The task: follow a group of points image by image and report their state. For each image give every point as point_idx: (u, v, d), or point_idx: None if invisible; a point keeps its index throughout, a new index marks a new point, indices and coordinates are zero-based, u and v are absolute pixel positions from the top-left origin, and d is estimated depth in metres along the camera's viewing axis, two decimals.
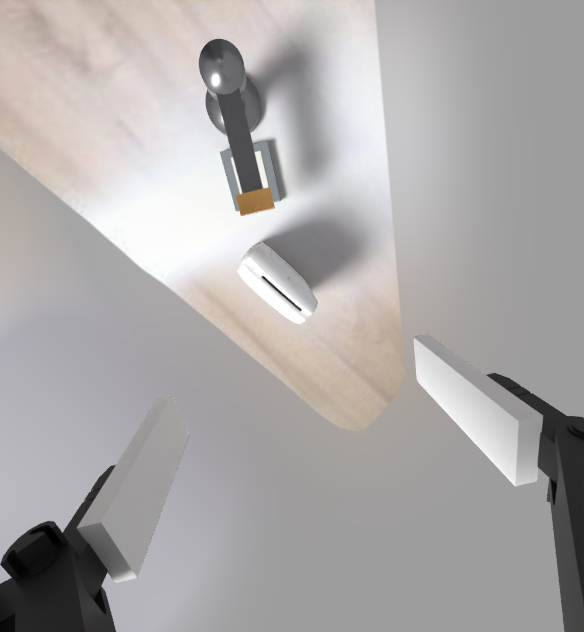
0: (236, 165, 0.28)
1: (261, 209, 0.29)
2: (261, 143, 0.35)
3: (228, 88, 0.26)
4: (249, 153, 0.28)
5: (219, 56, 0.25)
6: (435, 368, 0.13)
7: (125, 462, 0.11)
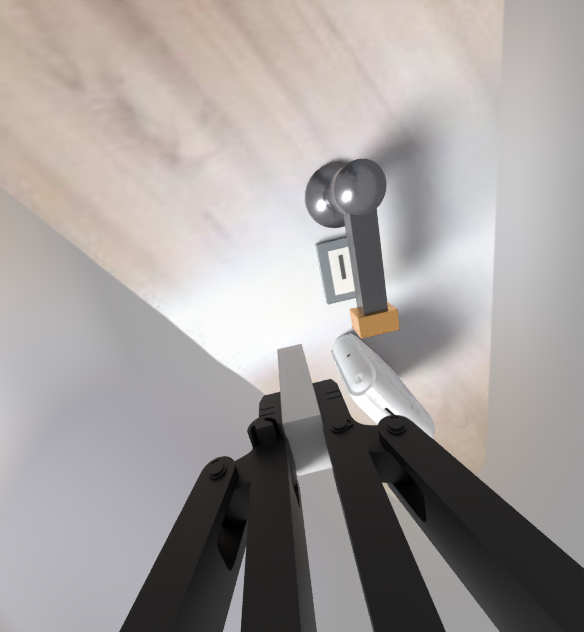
0: (361, 287, 0.24)
1: (384, 331, 0.26)
2: None
3: (365, 210, 0.22)
4: (378, 274, 0.24)
5: (359, 177, 0.21)
6: None
7: (287, 387, 0.13)
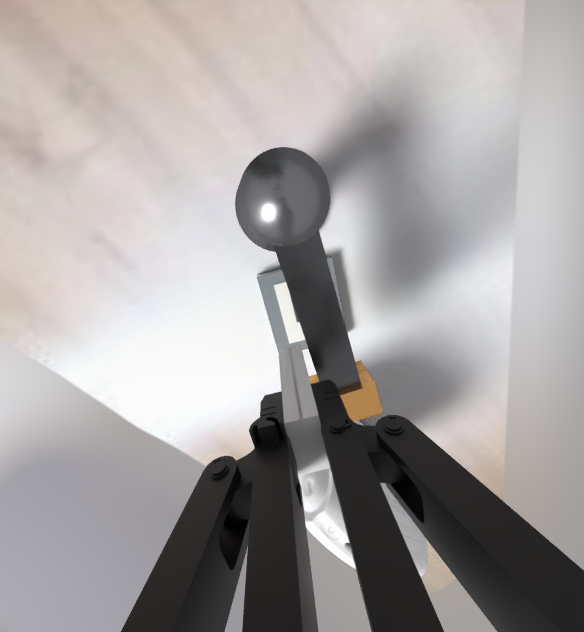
0: (313, 355, 0.15)
1: (359, 417, 0.16)
2: None
3: (298, 235, 0.13)
4: (337, 334, 0.15)
5: (278, 181, 0.12)
6: None
7: (289, 386, 0.13)
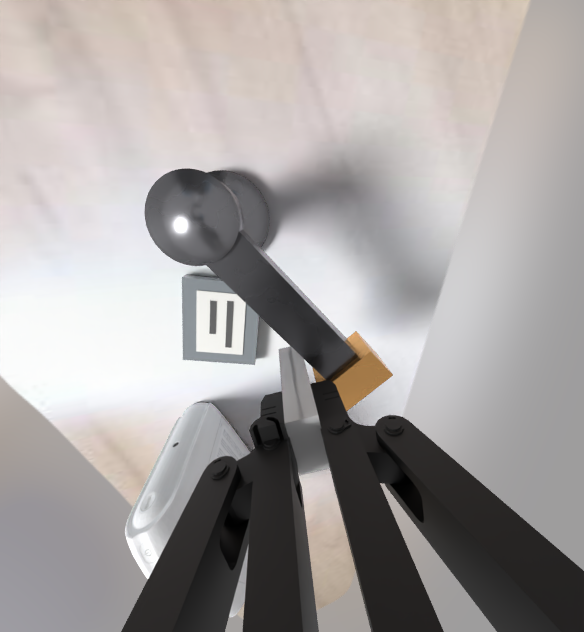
0: (297, 348, 0.15)
1: (371, 389, 0.15)
2: None
3: (222, 246, 0.13)
4: (309, 319, 0.14)
5: (179, 206, 0.12)
6: None
7: (289, 386, 0.13)
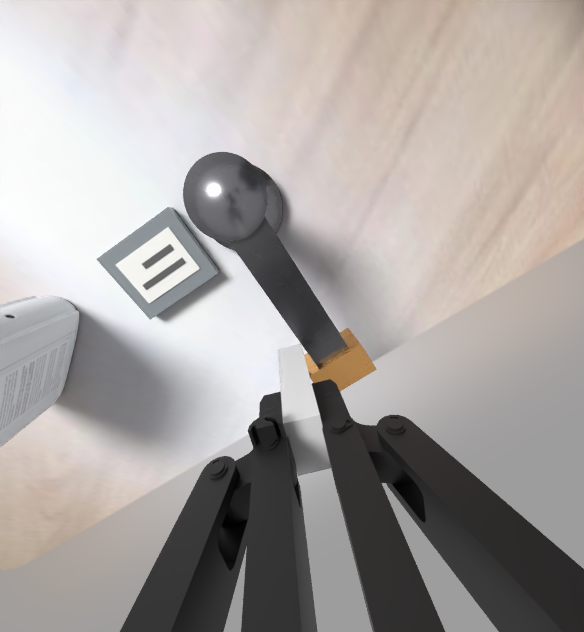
0: (296, 332, 0.16)
1: (355, 379, 0.17)
2: (210, 266, 0.23)
3: (248, 227, 0.14)
4: (312, 307, 0.16)
5: (216, 184, 0.13)
6: None
7: (288, 387, 0.13)
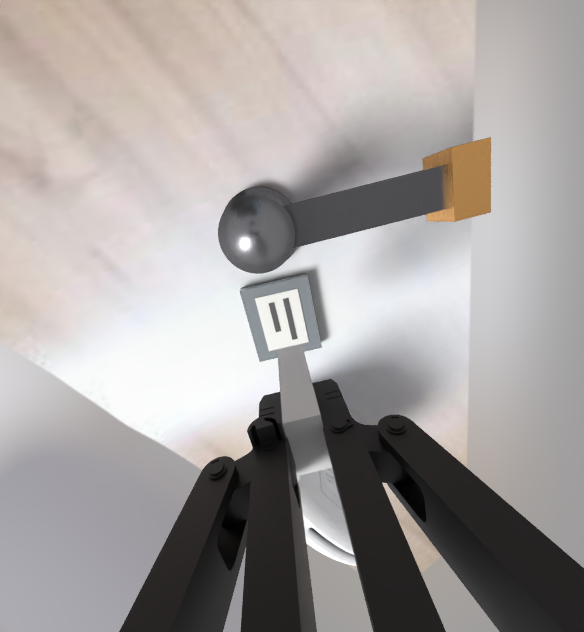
0: (402, 217, 0.15)
1: (488, 168, 0.14)
2: (299, 279, 0.24)
3: (286, 225, 0.15)
4: (385, 190, 0.15)
5: (243, 239, 0.15)
6: None
7: (287, 387, 0.13)
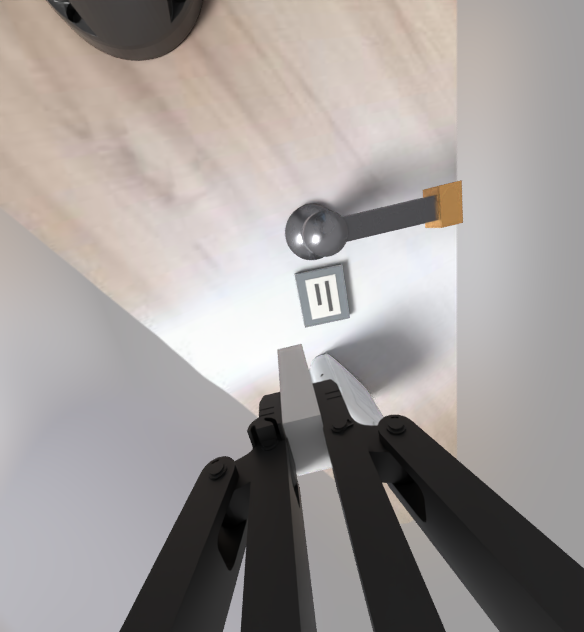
0: (410, 224, 0.26)
1: (460, 197, 0.25)
2: (336, 267, 0.35)
3: (343, 228, 0.25)
4: (401, 209, 0.25)
5: (318, 235, 0.25)
6: None
7: (287, 387, 0.13)
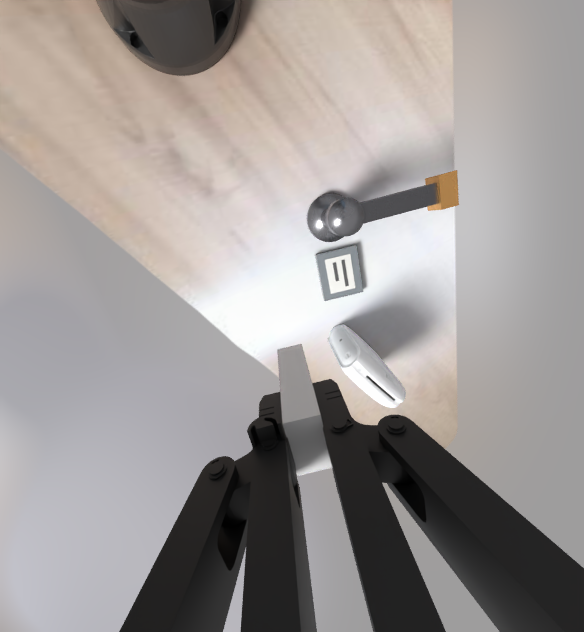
0: (415, 208, 0.31)
1: (456, 184, 0.31)
2: (351, 247, 0.40)
3: (361, 212, 0.31)
4: (407, 195, 0.31)
5: (340, 219, 0.31)
6: None
7: (287, 387, 0.13)
